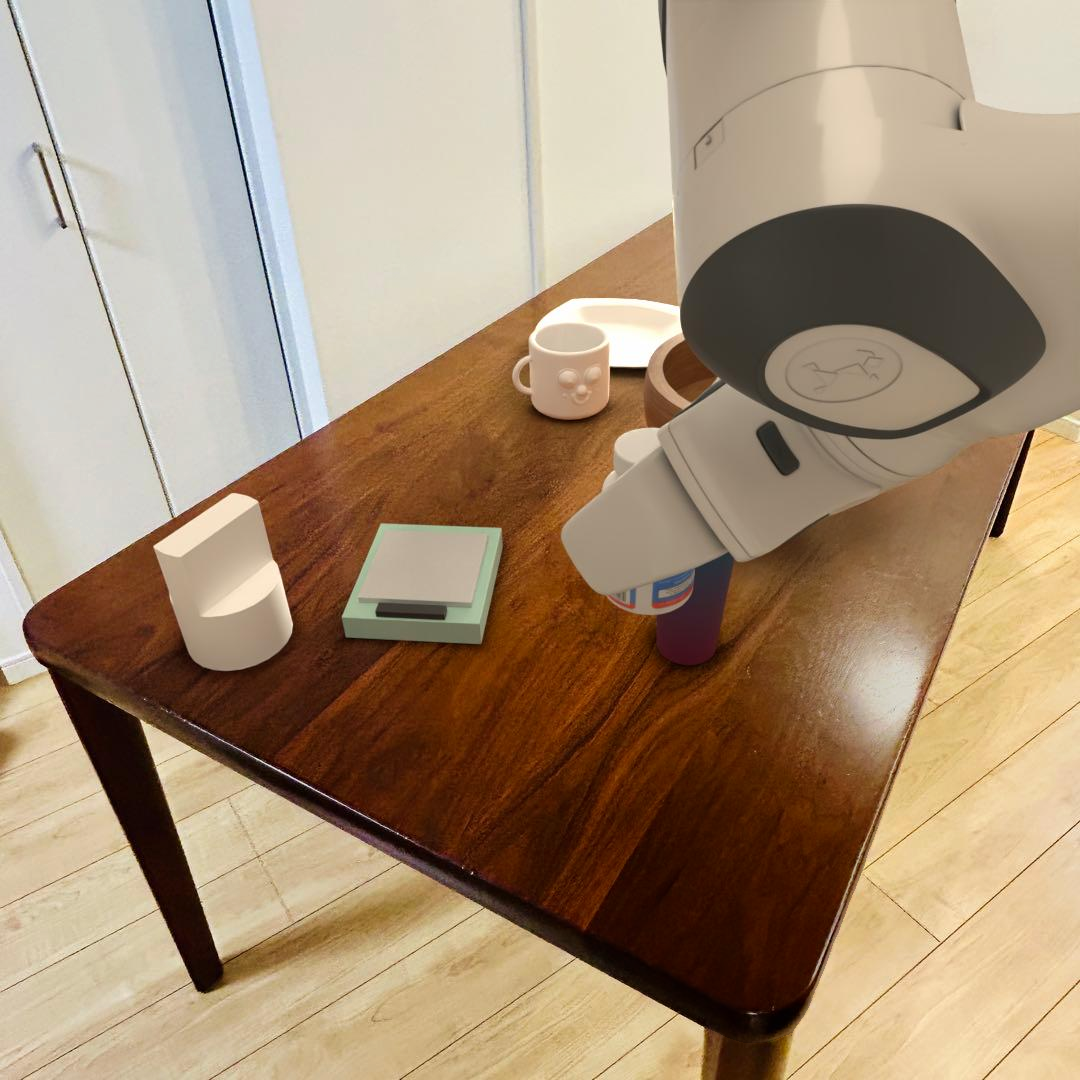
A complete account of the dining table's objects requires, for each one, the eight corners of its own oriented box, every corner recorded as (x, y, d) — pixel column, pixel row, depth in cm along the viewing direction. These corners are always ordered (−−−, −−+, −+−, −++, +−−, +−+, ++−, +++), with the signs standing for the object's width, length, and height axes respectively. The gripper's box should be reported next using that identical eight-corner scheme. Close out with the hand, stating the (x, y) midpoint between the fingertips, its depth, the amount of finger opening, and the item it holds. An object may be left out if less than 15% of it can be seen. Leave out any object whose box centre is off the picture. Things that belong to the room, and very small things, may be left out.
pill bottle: (692, 563, 55) (705, 422, 50) (692, 621, 51) (707, 474, 45) (603, 558, 56) (606, 418, 50) (596, 614, 52) (598, 469, 46)
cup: (742, 659, 75) (764, 511, 66) (669, 682, 73) (682, 533, 64) (701, 610, 80) (716, 466, 72) (632, 630, 78) (639, 485, 70)
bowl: (802, 615, 80) (830, 469, 71) (589, 508, 94) (590, 376, 85) (929, 497, 94) (966, 364, 85) (727, 420, 108) (741, 299, 99)
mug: (525, 435, 106) (522, 364, 101) (504, 397, 114) (501, 329, 109) (621, 420, 109) (623, 350, 103) (594, 383, 117) (595, 316, 111)
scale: (481, 644, 78) (478, 617, 76) (345, 637, 79) (339, 610, 77) (502, 547, 89) (501, 521, 87) (383, 542, 90) (379, 517, 88)
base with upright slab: (241, 684, 74) (206, 570, 67) (165, 649, 78) (123, 537, 71) (314, 620, 81) (288, 509, 74) (239, 590, 84) (208, 482, 77)
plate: (684, 388, 115) (685, 374, 114) (513, 368, 121) (512, 354, 120) (713, 319, 133) (714, 306, 131) (562, 304, 139) (562, 291, 138)
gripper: (895, 278, 45) (713, 396, 57) (651, 433, 33) (482, 543, 45) (961, 384, 46) (767, 480, 57) (742, 575, 34) (551, 650, 45)
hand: (640, 509), depth 51 cm, fingers closed on pill bottle, 5 cm apart
